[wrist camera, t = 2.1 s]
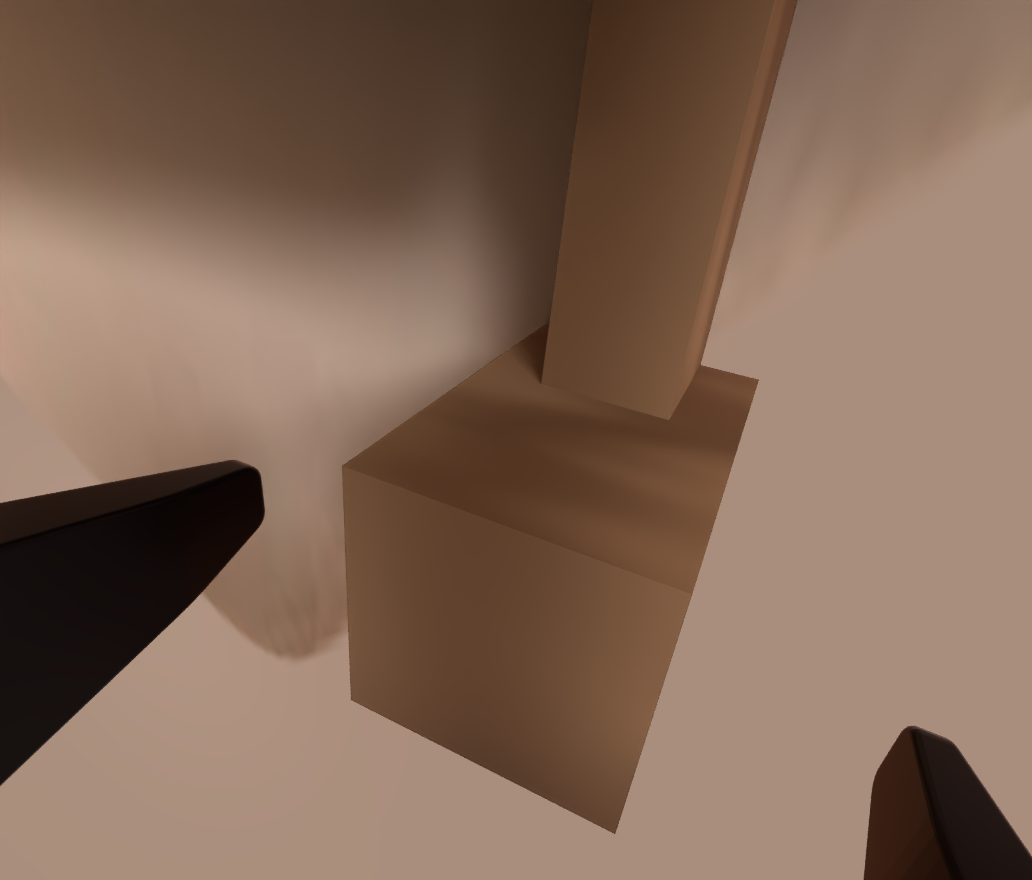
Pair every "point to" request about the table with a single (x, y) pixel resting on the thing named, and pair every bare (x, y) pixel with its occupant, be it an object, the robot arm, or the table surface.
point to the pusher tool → (577, 436)
